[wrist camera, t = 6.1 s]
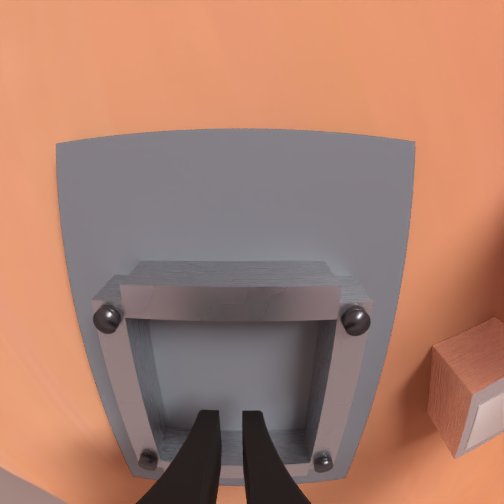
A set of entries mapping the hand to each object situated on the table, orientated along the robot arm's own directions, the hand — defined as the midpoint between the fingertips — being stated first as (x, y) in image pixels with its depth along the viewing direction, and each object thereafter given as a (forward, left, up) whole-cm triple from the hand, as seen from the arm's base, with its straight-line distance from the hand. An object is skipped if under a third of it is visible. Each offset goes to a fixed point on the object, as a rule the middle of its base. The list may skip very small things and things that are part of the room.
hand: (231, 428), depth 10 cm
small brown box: (-13, +2, -4) cm, 14 cm away
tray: (0, 0, -4) cm, 4 cm away
